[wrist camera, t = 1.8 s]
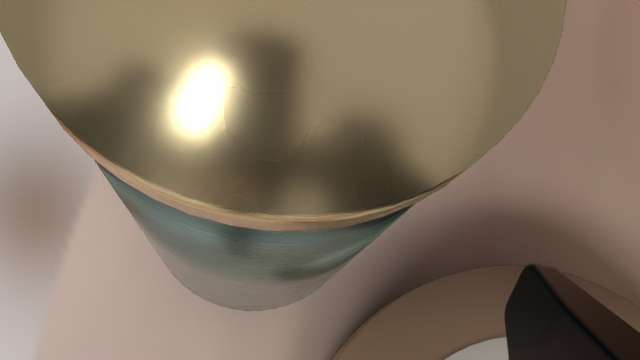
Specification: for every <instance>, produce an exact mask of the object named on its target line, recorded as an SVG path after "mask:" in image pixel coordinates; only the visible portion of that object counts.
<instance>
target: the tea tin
mask: <svg viewBox="0 0 640 360" xmlns="http://www.w3.org/2000/svg"><path fill="white" fill-rule="evenodd" d="M566 1H567V0H0V32H1V34H2V36H3V38H4V40H5V42H6V44H7V46H8V48H9V50H10V52H11V53H12V55H13V57H14V59H15V61H16V63H17V65H18V67H19V68H20V70H21V71H22V73H23V74H24V75H25V77H26V78H27V79H28V81H29V82H30V84H31V85H32V86H33V88H34V89H35V91H36V92H37V93H38V94H39V96H40V97H41V99H42V100H43V102H44V103H45V104H46V106H47V107H48V108H49V110H50V111H51V112H52V114H53V115H54V116H55V118H56V119H57V121H58V122H59V123H60V125H61V126H62V127H63V129H64V130H65V131H66V132H67V133H68V134H69V135H70V136H71V137H72V138H73V139H74V140H75V141H76V142H77V143H78V144H79V145H80V146H81V147H82V148H83V149H84V150H85V151H86V153H87V154H88V155H90V156H91V157H92V158H93V159H94V160H95V162H96V163H97V165H98V166H99V168H100V169H101V171H102V172H103V174H104V175H105V176H106V178H107V179H108V181H109V182H110V184H111V185H112V187H113V188H114V190H115V191H116V193H117V194H118V196H119V197H120V198H121V200H122V201H123V203H124V204H125V206H126V207H127V209H128V210H129V212H130V213H131V215H132V216H133V217H134V219H135V220H136V222H137V223H138V225H139V226H140V228H141V229H142V231H143V232H144V234H145V235H146V237H147V238H148V239H149V241H150V242H151V244H152V245H153V247H154V248H155V250H156V251H157V253H158V254H159V256H160V257H161V259H162V260H163V261H164V263H165V264H166V266H167V267H168V268H169V270H170V271H171V272H172V274H173V275H174V276H175V277H176V278H177V279H178V280H179V281H180V282H181V283H182V284H183V285H184V286H186V287H187V288H188V289H189V290H191V291H192V292H193V293H195V294H197V295H198V296H200V297H202V298H203V299H205V300H207V301H210V302H212V303H215V304H217V305H220V306H223V307H227V308H231V309H237V310H245V311H261V310H268V309H275V308H279V307H282V306H286V305H289V304H291V303H294V302H296V301H298V300H301V299H303V298H304V297H306V296H308V295H309V294H311V293H313V292H314V291H315V290H316V289H318V288H319V287H320V286H322V285H323V284H324V283H325V282H326V281H327V280H329V279H330V278H331V277H332V276H333V275H334V274H335V273H337V272H338V271H339V270H340V269H341V268H342V267H343V266H345V265H346V264H347V263H348V262H349V261H350V260H351V259H352V258H354V257H355V256H356V255H357V254H358V253H359V252H360V251H362V250H363V249H364V248H365V247H366V246H367V245H368V244H370V243H371V242H372V241H373V240H374V239H375V238H376V237H378V236H379V235H380V234H381V233H382V232H383V231H384V230H386V229H387V228H388V227H389V226H390V225H391V224H392V223H394V222H395V221H396V220H397V219H398V218H399V217H400V216H402V215H403V214H404V213H405V212H406V211H407V210H408V209H410V208H411V207H412V206H413V205H414V204H415V203H417V202H419V201H421V200H422V199H424V198H426V197H428V196H429V195H431V194H433V193H434V192H436V191H438V190H440V189H441V188H443V187H445V186H446V185H447V184H448V183H450V182H451V181H452V180H453V179H455V178H456V177H457V176H458V175H460V174H461V173H462V172H464V171H465V170H466V169H467V168H469V167H470V166H471V165H472V164H473V163H475V162H476V161H477V160H478V159H479V158H481V157H482V156H483V155H484V154H485V153H487V152H488V151H489V150H490V149H491V148H493V147H494V146H495V145H496V144H497V143H498V142H499V141H500V140H501V139H502V138H503V137H504V136H505V135H506V134H507V133H508V132H509V131H510V130H511V128H512V127H513V126H514V125H515V124H516V123H517V122H518V121H519V120H520V119H521V117H522V116H523V115H524V113H525V112H526V110H527V109H528V107H529V106H530V104H531V103H532V101H533V100H534V98H535V97H536V95H537V94H538V92H539V91H540V89H541V87H542V85H543V83H544V81H545V78H546V76H547V74H548V72H549V70H550V68H551V66H552V64H553V61H554V58H555V55H556V51H557V48H558V45H559V41H560V38H561V34H562V31H563V24H564V16H565V9H566Z"/></svg>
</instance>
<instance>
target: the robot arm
mask: <svg viewBox="0 0 640 360" xmlns="http://www.w3.org/2000/svg"><path fill="white" fill-rule="evenodd" d="M504 320H505V330H506V339H507V348H508V358H509V360H640V332H638V331H637V330H636V329H634V328H633V327H632V326H631V325H629V324H628V323H627V322H625V321H624V320H623V319H621V318H620V317H619V316H617V315H616V314H615V313H614V312H612V311H611V310H610V309H608V308H607V307H606V306H604V305H603V304H602V303H600V302H599V301H598V300H596V299H595V298H594V297H593V296H591V295H590V294H589V293H587V292H586V291H585V290H583V289H582V288H581V287H579V286H578V285H577V284H576V283H574V282H573V281H572V280H570V279H569V278H568V277H566V276H565V275H564V274H562V273H561V272H560V271H558V270H557V269H556V268H553V267H550V266H545V265H540V264H536V263H530V264H528V265H526V266H525V267H524V269H523V270H522V272H521V274H520V276H519V278H518V280H517V282H516V284H515V287H514V289H513V291H512V293H511V295H510V297H509V299H508V301H507V304H506V307H505V312H504Z"/></svg>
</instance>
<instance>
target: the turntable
mask: <svg viewBox="0 0 640 360" xmlns="http://www.w3.org/2000/svg"><path fill="white" fill-rule="evenodd" d="M524 267H525V266H490V267H482V268H475V269H469V270H465V271H462V272H458V273H455V274H451V275H448V276H444V277H441V278H439V279H436V280H434V281H432V282H429V283H427V284H425V285H422V286H420V287H418V288H416V289H413V290H411V291H409V292H407V293H405V294H403V295H401V296H400V297H398V298H397V299H395V300H393V301H392V302H390V303H389V304H387V305H385V306H384V307H382V308H381V309H380V310H379V311H377V312H376V313H375V314H374V315H373V316H371V317H370V318H369V319H368V320H367V321H365V322H364V323H363V324H362V325H361V326H360V327H359V328H358V329H357V330H356V331H355V332H354V333H353V334H352V335H351V336H350V338H349V339H348V340H347V341H346V342H345V343H344V344H343V345H342V346H341V347H340V349H339V350H338V352H337V353H336V355H335V356H334V357H333V359H332V360H509V358H508V348H507V339H506V330H505V320H504V312H505V307H506V304H507V301H508V299H509V297H510V295H511V293H512V291H513V289H514V287H515V284H516V282H517V280H518V278H519V276H520V274H521V272H522V270H523V269H524ZM561 273H562V274H564V275H565V276H566V277H568V278H569V279H570V280H572V281H573V282H574V283H576V284H577V285H578V286H579V287H581V288H582V289H583V290H585V291H586V292H587V293H589V294H590V295H591V296H593V297H594V298H595V299H596V300H598V301H599V302H600V303H602V304H603V305H604V306H606V307H607V308H608V309H610V310H611V311H612V312H614V313H615V314H616V315H617V316H619V317H620V318H621V319H623V320H624V321H625V322H627V323H628V324H629V325H631V326H632V327H633V328H634V329H636V330H637V331H638V332H640V309H639V308H638V307H637V306H635V305H634V304H633V303H631V302H629V301H628V300H626V299H624V298H622V297H621V296H619V295H617V294H615V293H614V292H612V291H610V290H608V289H607V288H604V287H602V286H600V285H597V284H595V283H593V282H590V281H588V280H585V279H583V278H581V277H578V276H574V275H570V274H567V273H563V272H561Z"/></svg>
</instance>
